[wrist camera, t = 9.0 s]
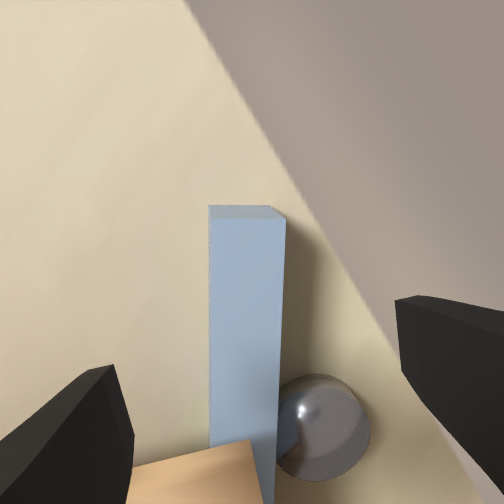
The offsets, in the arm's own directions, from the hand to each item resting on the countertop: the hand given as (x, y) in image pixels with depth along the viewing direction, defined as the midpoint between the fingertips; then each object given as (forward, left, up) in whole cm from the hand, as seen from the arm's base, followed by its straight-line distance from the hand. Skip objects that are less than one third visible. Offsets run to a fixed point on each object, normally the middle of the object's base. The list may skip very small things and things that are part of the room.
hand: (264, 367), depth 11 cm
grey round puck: (+3, -9, -10) cm, 14 cm away
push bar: (0, -4, -10) cm, 11 cm away
